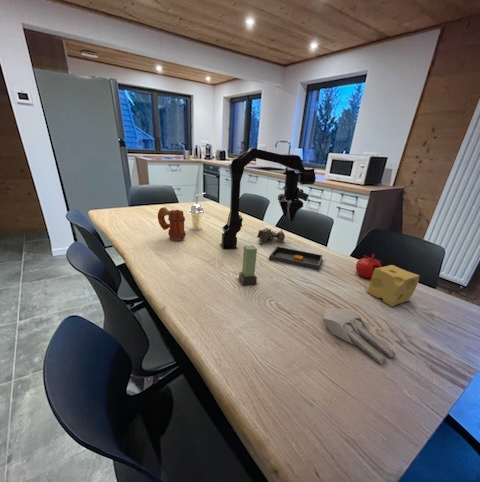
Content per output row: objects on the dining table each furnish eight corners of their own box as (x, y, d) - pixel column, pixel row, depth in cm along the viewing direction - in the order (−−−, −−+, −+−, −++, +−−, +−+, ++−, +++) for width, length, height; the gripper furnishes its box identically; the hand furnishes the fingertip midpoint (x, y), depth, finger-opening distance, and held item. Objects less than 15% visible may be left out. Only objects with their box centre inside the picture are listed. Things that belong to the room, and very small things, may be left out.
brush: (243, 285, 94) (246, 250, 88) (238, 279, 98) (241, 245, 92) (256, 284, 95) (259, 249, 89) (251, 278, 99) (254, 244, 94)
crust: (293, 260, 116) (294, 257, 116) (295, 257, 119) (295, 254, 119) (301, 262, 115) (302, 258, 114) (302, 259, 118) (303, 256, 117)
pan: (268, 260, 115) (269, 255, 114) (276, 251, 127) (277, 246, 125) (318, 271, 109) (319, 265, 108) (321, 260, 120) (322, 255, 119)
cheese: (392, 307, 87) (402, 280, 83) (364, 291, 96) (372, 267, 91) (410, 301, 92) (421, 275, 88) (383, 287, 100) (391, 263, 96)
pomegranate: (350, 274, 108) (355, 253, 104) (359, 268, 115) (364, 248, 111) (374, 283, 103) (382, 261, 98) (382, 276, 109) (389, 255, 105)
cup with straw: (189, 226, 153) (189, 190, 145) (205, 226, 155) (205, 191, 146) (188, 230, 146) (188, 193, 137) (205, 231, 147) (205, 194, 138)
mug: (189, 238, 134) (189, 209, 128) (181, 243, 127) (180, 212, 121) (164, 233, 138) (163, 205, 132) (155, 238, 131) (153, 208, 125)
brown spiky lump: (290, 240, 133) (267, 223, 128) (276, 255, 137) (253, 240, 132) (285, 232, 143) (264, 216, 138) (272, 246, 147) (251, 231, 142)
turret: (372, 374, 63) (381, 361, 60) (313, 319, 76) (318, 307, 74) (394, 359, 68) (403, 346, 66) (335, 310, 81) (340, 298, 79)
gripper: (316, 187, 113) (312, 223, 120) (300, 181, 129) (297, 213, 136) (291, 188, 111) (288, 224, 118) (278, 182, 128) (276, 214, 135)
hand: (288, 218), depth 127 cm, fingers open, 9 cm apart
